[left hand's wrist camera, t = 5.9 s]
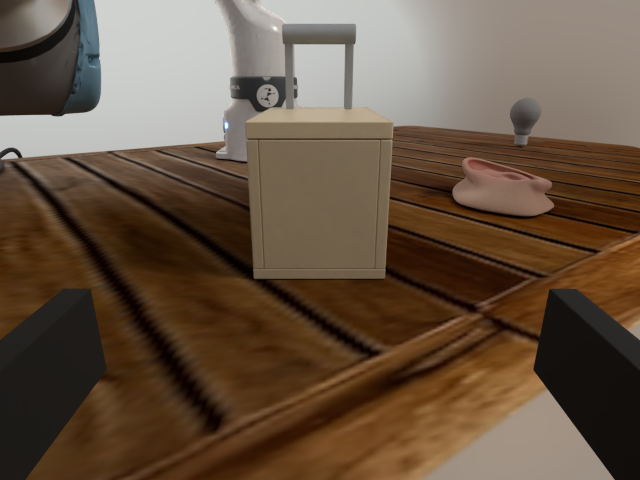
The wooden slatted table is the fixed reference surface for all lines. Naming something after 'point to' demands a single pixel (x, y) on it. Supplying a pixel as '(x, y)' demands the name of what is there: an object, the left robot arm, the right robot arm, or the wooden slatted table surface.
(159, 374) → the wooden slatted table surface
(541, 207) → the anatomical model
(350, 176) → the chest
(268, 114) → the lid
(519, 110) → the light bulb
